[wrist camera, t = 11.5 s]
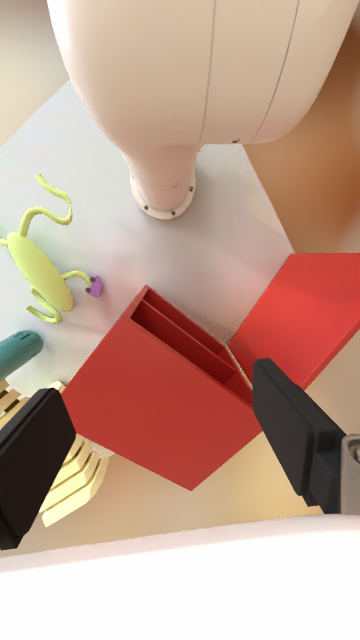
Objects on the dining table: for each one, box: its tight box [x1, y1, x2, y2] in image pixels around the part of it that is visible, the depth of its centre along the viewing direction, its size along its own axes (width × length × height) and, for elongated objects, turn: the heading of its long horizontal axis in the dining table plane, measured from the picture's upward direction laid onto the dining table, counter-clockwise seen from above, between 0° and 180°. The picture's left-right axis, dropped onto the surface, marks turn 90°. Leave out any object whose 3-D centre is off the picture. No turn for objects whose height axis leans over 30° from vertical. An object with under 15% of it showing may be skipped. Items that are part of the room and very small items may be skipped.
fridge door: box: [227, 253, 360, 390], centre depth 37 cm, size 7×26×24 cm, turn 150°
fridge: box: [61, 285, 263, 491], centre depth 38 cm, size 18×26×24 cm
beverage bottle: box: [0, 331, 43, 381], centre depth 38 cm, size 6×7×20 cm
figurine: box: [0, 174, 103, 323], centre depth 39 cm, size 18×27×6 cm
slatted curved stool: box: [0, 379, 109, 527], centre depth 46 cm, size 30×16×18 cm, turn 37°
